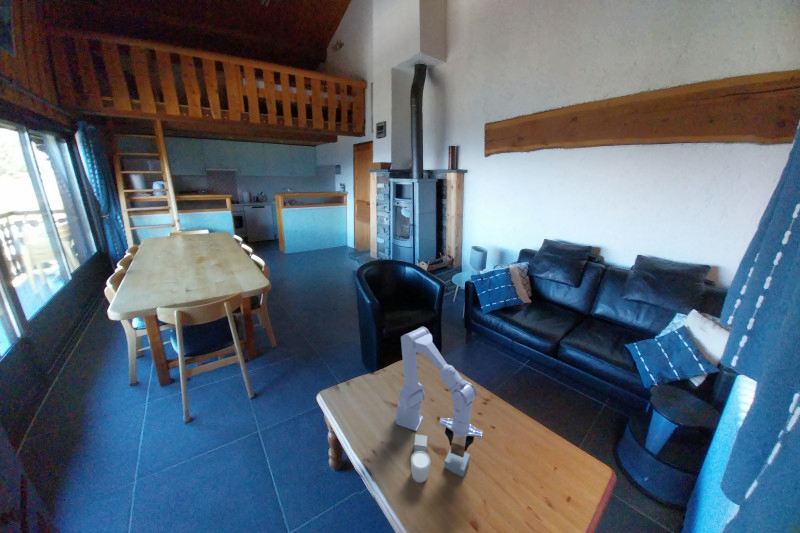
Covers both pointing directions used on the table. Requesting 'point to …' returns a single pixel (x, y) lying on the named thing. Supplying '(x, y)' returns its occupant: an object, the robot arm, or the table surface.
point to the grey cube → (420, 443)
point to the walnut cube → (458, 445)
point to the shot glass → (420, 466)
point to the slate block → (457, 463)
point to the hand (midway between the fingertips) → (458, 446)
